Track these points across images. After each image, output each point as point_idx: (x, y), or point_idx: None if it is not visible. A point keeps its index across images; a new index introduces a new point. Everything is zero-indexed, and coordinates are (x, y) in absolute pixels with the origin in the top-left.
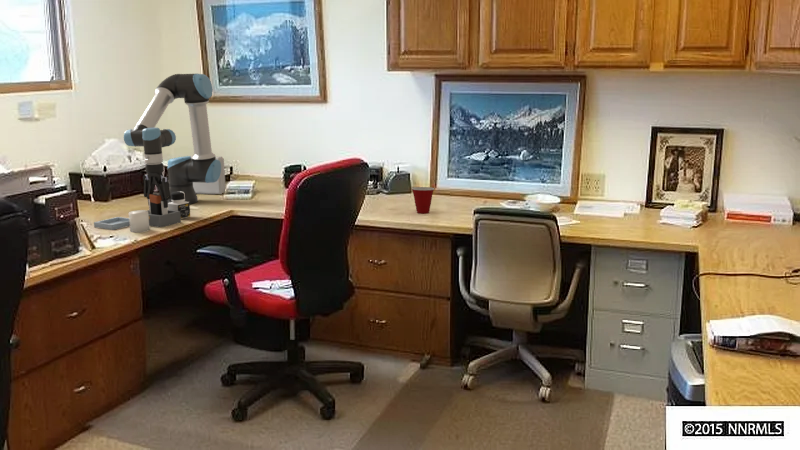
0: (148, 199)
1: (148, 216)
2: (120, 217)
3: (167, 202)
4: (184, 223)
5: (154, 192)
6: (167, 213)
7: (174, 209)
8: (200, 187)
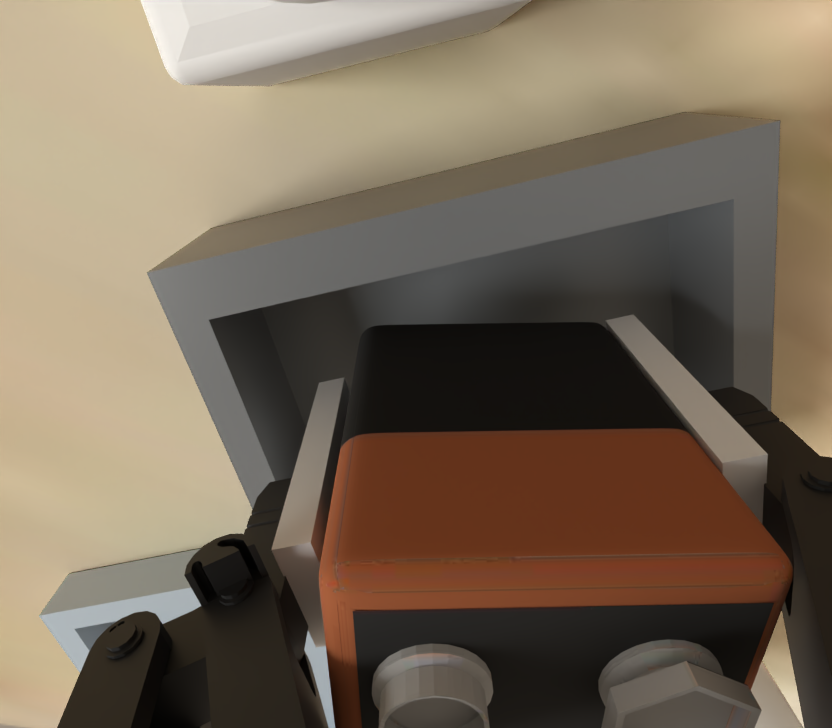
0: (320, 642)
1: (764, 677)
2: (98, 617)
3: (802, 445)
4: (792, 120)
5: (381, 708)
6: (637, 329)
7: (417, 39)
8: None
